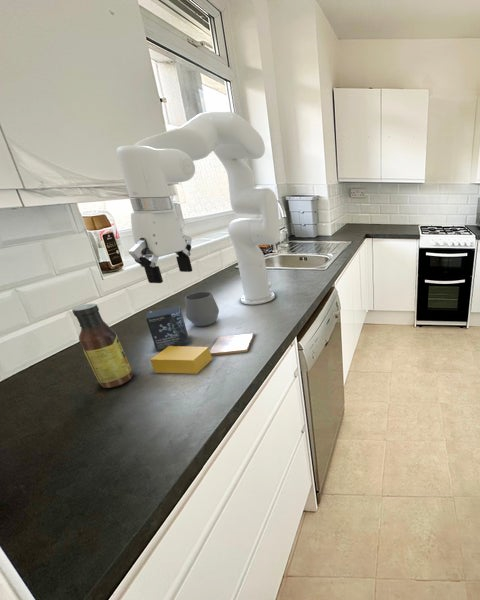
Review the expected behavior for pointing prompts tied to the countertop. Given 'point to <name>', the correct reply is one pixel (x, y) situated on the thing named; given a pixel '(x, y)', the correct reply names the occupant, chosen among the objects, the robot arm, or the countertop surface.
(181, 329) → the box
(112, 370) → the sauce bottle
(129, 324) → the countertop surface
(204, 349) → the block
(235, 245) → the robot arm
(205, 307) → the cup
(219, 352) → the plate
